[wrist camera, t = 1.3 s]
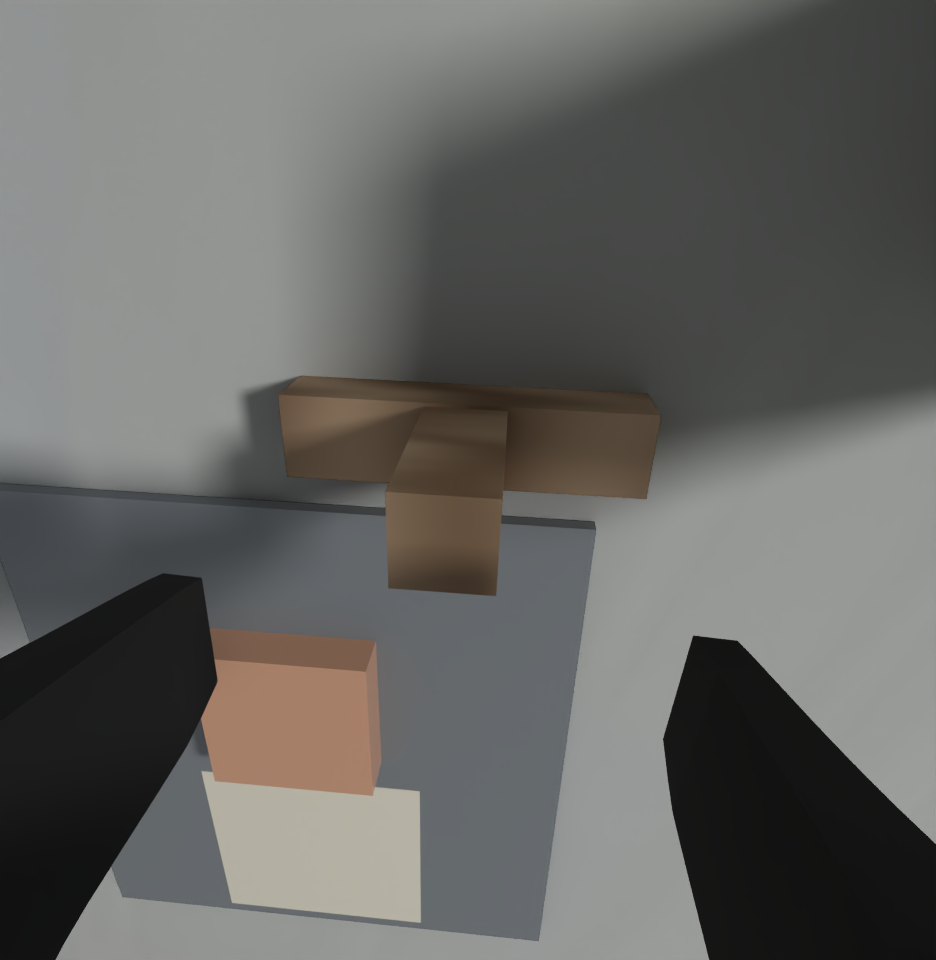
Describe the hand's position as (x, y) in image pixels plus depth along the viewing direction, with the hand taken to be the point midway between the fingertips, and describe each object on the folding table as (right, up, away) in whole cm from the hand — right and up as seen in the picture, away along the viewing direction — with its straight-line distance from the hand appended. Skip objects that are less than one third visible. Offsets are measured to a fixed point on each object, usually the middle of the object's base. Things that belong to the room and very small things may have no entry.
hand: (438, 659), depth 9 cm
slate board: (-6, -8, +15) cm, 18 cm away
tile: (-6, -5, +14) cm, 16 cm away
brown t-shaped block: (+1, +4, +9) cm, 10 cm away
